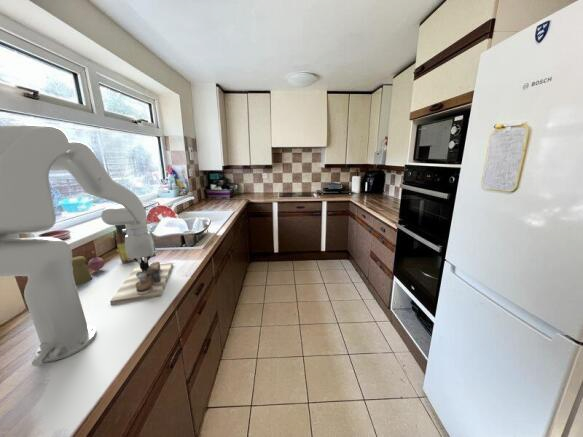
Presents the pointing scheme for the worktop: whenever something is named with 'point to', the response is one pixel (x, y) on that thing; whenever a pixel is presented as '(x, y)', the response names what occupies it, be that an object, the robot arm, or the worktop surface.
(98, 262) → the vegetable
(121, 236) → the sauce bottle
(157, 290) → the pivot board
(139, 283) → the link
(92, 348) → the worktop surface
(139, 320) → the worktop surface
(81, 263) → the olive green tapered block
